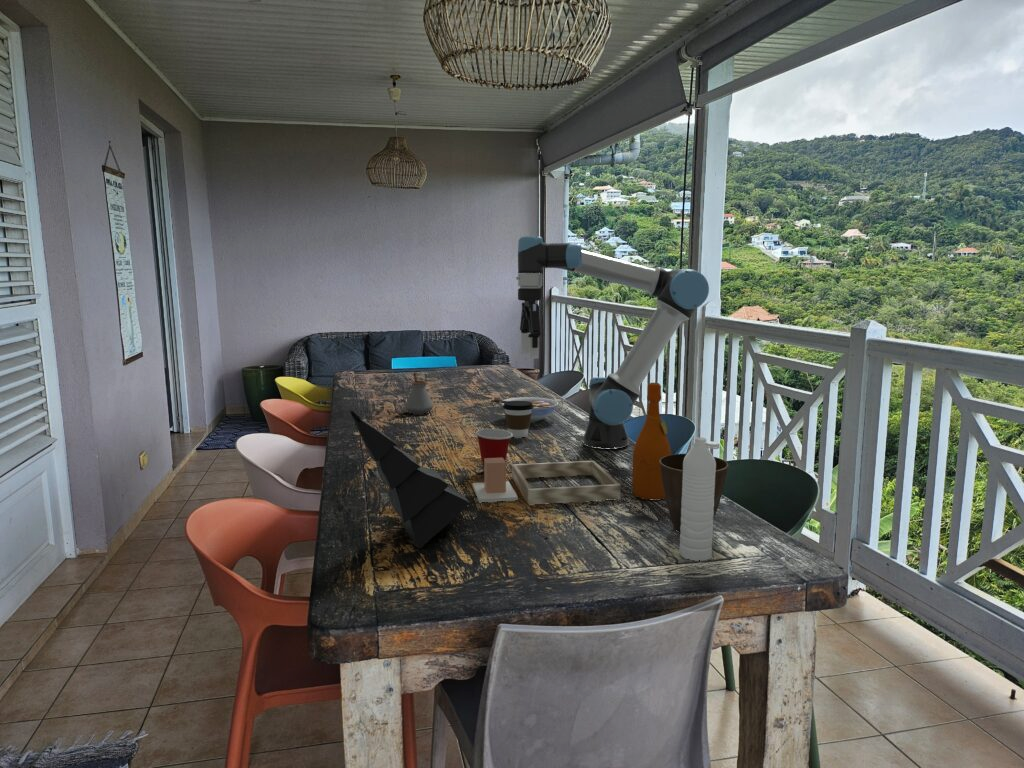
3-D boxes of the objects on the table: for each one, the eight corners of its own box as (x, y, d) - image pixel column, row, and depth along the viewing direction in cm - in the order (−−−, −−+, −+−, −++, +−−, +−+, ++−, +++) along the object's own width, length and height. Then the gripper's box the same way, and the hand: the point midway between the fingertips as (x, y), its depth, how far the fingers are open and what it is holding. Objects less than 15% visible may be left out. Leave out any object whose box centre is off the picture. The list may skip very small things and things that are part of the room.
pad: (508, 484, 195) (508, 481, 195) (517, 500, 181) (517, 497, 181) (472, 486, 193) (472, 483, 193) (479, 502, 179) (479, 499, 179)
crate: (593, 473, 205) (593, 460, 204) (620, 500, 182) (620, 485, 181) (512, 478, 201) (512, 464, 200) (528, 505, 178) (528, 490, 177)
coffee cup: (497, 438, 248) (497, 404, 247) (509, 431, 258) (509, 399, 257) (527, 441, 244) (527, 406, 242) (537, 434, 254) (538, 401, 252)
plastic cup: (508, 478, 201) (508, 437, 199) (471, 476, 203) (471, 435, 201) (516, 467, 211) (516, 428, 209) (480, 465, 213) (480, 427, 211)
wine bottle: (647, 504, 179) (651, 387, 174) (624, 493, 187) (627, 381, 182) (677, 498, 183) (682, 384, 178) (653, 488, 192) (657, 378, 187)
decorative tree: (412, 539, 164) (317, 426, 152) (461, 497, 167) (371, 383, 155) (429, 563, 151) (326, 441, 139) (482, 517, 154) (386, 394, 142)
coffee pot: (435, 414, 289) (434, 378, 286) (406, 416, 286) (406, 379, 283) (428, 405, 309) (427, 371, 307) (401, 406, 306) (400, 372, 304)
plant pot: (713, 547, 151) (717, 475, 148) (647, 534, 159) (649, 464, 156) (732, 526, 163) (736, 459, 161) (670, 514, 171) (672, 450, 168)
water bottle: (673, 551, 148) (677, 435, 144) (699, 548, 151) (705, 433, 147) (696, 568, 140) (702, 445, 136) (724, 563, 142) (730, 442, 138)
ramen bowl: (571, 419, 280) (571, 398, 279) (542, 430, 261) (542, 408, 260) (517, 412, 293) (517, 393, 292) (486, 422, 274) (486, 401, 273)
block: (502, 486, 190) (502, 457, 189) (505, 492, 185) (505, 462, 184) (484, 487, 189) (484, 458, 188) (486, 493, 184) (486, 463, 183)
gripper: (511, 286, 230) (511, 351, 233) (525, 288, 206) (525, 361, 209) (533, 286, 231) (533, 351, 235) (551, 288, 207) (550, 360, 210)
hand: (529, 355), depth 222 cm, fingers open, 13 cm apart
